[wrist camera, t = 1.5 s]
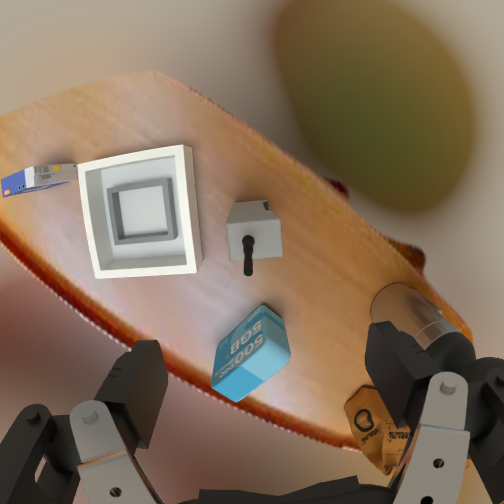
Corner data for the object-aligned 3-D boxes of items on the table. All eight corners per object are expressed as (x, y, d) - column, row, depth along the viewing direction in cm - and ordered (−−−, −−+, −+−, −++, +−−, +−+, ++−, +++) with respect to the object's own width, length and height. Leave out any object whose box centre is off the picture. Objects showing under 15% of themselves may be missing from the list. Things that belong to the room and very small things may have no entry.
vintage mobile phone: (270, 224, 43) (296, 294, 19) (236, 227, 44) (222, 301, 20) (268, 199, 42) (293, 240, 18) (233, 202, 42) (215, 247, 18)
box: (191, 147, 40) (183, 144, 34) (203, 259, 45) (197, 272, 39) (96, 164, 40) (77, 164, 34) (111, 265, 45) (95, 278, 39)
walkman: (46, 188, 41) (1, 198, 29) (44, 173, 40) (-1, 179, 29) (78, 179, 41) (34, 185, 29) (76, 163, 40) (32, 165, 29)
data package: (263, 300, 47) (268, 342, 35) (283, 317, 48) (293, 360, 36) (216, 345, 49) (209, 391, 38) (235, 359, 50) (233, 406, 39)
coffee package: (365, 378, 52) (404, 458, 31) (401, 391, 54) (440, 460, 33) (336, 409, 55) (361, 490, 34) (373, 419, 57) (402, 489, 35)
